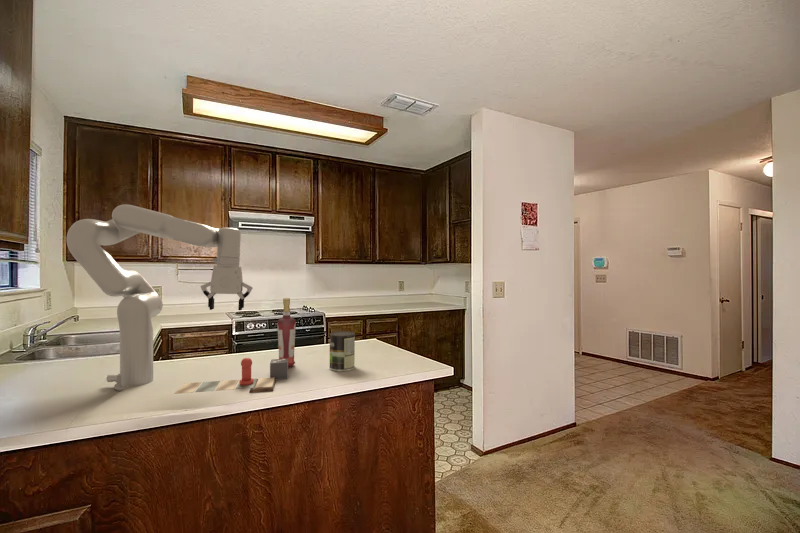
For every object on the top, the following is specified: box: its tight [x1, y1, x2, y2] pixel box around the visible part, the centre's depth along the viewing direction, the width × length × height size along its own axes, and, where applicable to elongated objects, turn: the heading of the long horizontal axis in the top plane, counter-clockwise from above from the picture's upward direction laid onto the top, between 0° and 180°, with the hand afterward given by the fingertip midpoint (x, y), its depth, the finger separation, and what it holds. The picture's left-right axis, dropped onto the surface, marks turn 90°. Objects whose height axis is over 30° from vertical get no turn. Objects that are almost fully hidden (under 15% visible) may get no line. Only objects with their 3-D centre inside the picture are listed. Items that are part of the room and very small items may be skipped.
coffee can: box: [328, 330, 356, 372], centre depth 156 cm, size 10×10×14 cm
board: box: [173, 377, 276, 395], centre depth 129 cm, size 30×12×1 cm, turn 104°
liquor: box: [277, 297, 297, 369], centre depth 158 cm, size 7×7×28 cm
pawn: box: [239, 357, 254, 386], centre depth 131 cm, size 4×4×9 cm
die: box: [269, 358, 289, 380], centre depth 143 cm, size 6×6×6 cm
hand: (226, 309), depth 139 cm, fingers open, 9 cm apart
